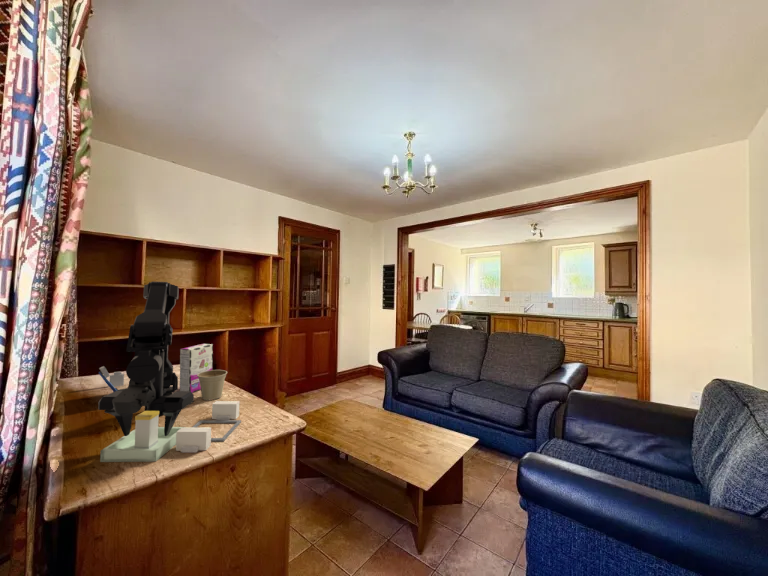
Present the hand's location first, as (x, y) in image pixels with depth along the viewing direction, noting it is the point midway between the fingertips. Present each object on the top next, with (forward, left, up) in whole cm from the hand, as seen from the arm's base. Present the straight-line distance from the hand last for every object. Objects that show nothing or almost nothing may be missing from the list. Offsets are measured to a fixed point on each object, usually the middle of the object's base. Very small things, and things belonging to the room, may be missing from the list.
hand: (146, 435), depth 75 cm
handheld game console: (-29, +35, -4) cm, 46 cm away
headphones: (+11, +9, -3) cm, 15 cm away
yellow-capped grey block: (0, 0, -2) cm, 3 cm away
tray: (0, 0, -3) cm, 3 cm away
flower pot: (-1, +35, -3) cm, 35 cm away
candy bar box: (-11, +44, -3) cm, 45 cm away
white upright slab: (-43, +46, -3) cm, 63 cm away
